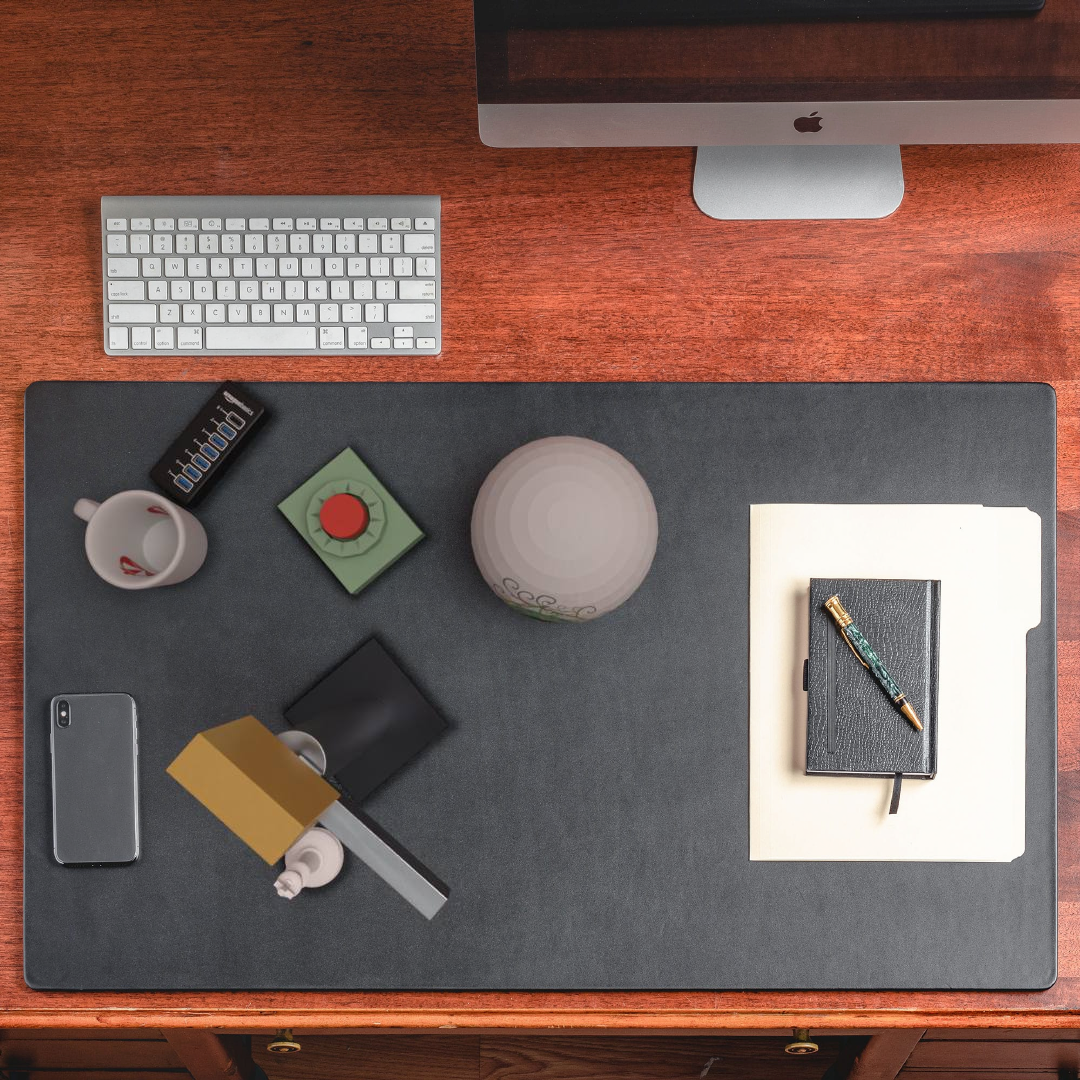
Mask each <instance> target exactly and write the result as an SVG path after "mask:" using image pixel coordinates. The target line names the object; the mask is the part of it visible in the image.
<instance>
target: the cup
mask: <svg viewBox="0 0 1080 1080" xmlns="http://www.w3.org/2000/svg"><path fill="white" fill-rule="evenodd" d="M73 513H74V514H75V515H76V516H77V517H79V518H80V519H82V520H83V521H85V522H87V527H86V529H85V536H84V546H85V552H86V556H87V560H88V561H89V564H90V565H91V567H92V569H93V570H94V571H95V573H96V574H97V575H98V576H99V577H100V578H101V579H103V580H104V581H106V582H107V583H109V584H111V585H112V586H115V587H118V588H120V589H125V590H142V589H143V590H145V589H151V588H157V587H162V586H169V585H175V584H179V583H181V582H184V581H187V580H188V579H190V578H191V577H192V576H194V575H195V574H196V573H197V572H198V571H199V569H200V568H201V567H202V566H203V565H204V562H205V559H206V557H207V554H208V547H209V546H208V543H209V542H208V536H207V533H206V530H205V529H204V526H203V525H202V523H201V522H200V520H198V519H197V518H196V516H195V515H193V514H192V513H190V512H189V511H187V510H186V509H184V508H183V507H181V506H179V505H178V504H176V503H174V502H173V501H171V500H169V499H168V498H166V497H165V496H162V495H161V494H158V493H156V492H153V491H149V490H143V489H132V490H125V491H122V492H119V493H116V494H114V495H112V496H111V497H109V498H106V500H105V501H104V502H102V503H100V502H97V501H95V500H92V499H90V498H85V497H83V498H79V499H78V500H77V502H76V503H75V505H74V507H73Z"/></svg>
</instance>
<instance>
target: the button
mask: <svg viewBox="0 0 1080 1080" xmlns="http://www.w3.org/2000/svg"><path fill="white" fill-rule="evenodd" d="M320 520H321V524H322V526H323V528H324V529H325V530H326V531H327V532H328V533H329V534H331V535H333V536H335V537H338V538H341V539H350V538H354V537H356V536H358V535H359V534H360V533H361V532H362V531H363V530H364V528H365V526H366V523H367V512H366V509H365V507H364V506H363V504H362V503H361V502H360V501H358V500H357V499H355V498H354V497H352V496H350V495H346V494H338V495H335V496H332V497H330V498H329V499H328V500H327V501H326V502H325V503H324V504H323V506H322V508H321V512H320Z"/></svg>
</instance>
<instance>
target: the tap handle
mask: <svg viewBox="0 0 1080 1080" xmlns="http://www.w3.org/2000/svg"><path fill="white" fill-rule="evenodd" d="M165 771H166V772H167V774H168V775H170V776H171V777H172V778H173V779H174V780H175V781H177V782H178V784H180V786H182V787H183V788H184V789H185V790H186V791H188V793H190V794H191V795H192V796H193V797H194V798H195V799H196V800H197V801H198V802H200V803H201V804H202V805H203V806H204V807H205V808H206V809H207V810H209V811H210V812H211V813H212V814H213V815H214V816H215V817H216V818H217V819H218V820H219V821H221V822H222V823H223V824H224V825H225V826H226V827H227V828H229V829H230V830H231V831H232V832H233V833H234V834H235V835H236V836H238V838H240V839H241V840H242V841H243V842H244V843H245V844H246V845H248V847H249V848H251V850H253V851H254V852H255V853H256V854H257V855H258V856H259V857H261V858H262V859H263V860H264V861H265V862H266V863H267V864H268V865H269V866H271V867H272V866H274V865H276V864H277V862H279V860H280V859H282V858H283V857H285V854H286V853H287V852H288V851H289V850H290V849H291V848H292V847H293V846H294V845H295V844H296V843H297V842H298V841H300V840H301V839H302V838H303V837H304V836H305V835H306V834H307V833H308V832H309V831H310V830H311V829H312V828H313V827H316V825H317V824H318V823H319V824H320V825H321V826H322V827H323V828H324V829H326V830H328V831H330V832H331V833H332V834H333V835H334V836H335V837H336V838H337V839H338V840H339V841H340V843H341V844H343V845H344V846H345V847H346V848H347V849H348V850H349V851H351V852H352V853H353V854H354V855H355V856H356V857H357V858H358V859H359V860H360V861H362V862H363V863H364V864H365V865H366V866H367V867H369V868H370V869H371V870H372V871H373V873H375V874H376V875H377V876H379V878H381V879H382V880H383V881H384V882H385V883H386V884H387V885H389V886H390V887H391V888H392V889H393V890H394V891H395V892H396V893H397V894H399V895H400V896H401V897H402V898H403V899H404V900H405V901H406V902H408V903H409V904H410V905H411V906H412V907H413V908H414V909H415V910H416V911H418V912H419V914H421V915H422V916H423V917H424V918H425V919H426V920H428V921H429V922H431V921H432V920H433V919H434V918H435V916H436V915H437V914H438V913H439V912H440V911H441V909H442V908H443V907H444V906H445V905H446V904H447V902H448V901H449V898H450V895H451V891H452V888H451V887H450V886H449V885H448V884H447V883H445V882H444V881H443V879H441V878H439V876H438V875H436V873H434V872H433V871H432V870H431V869H429V867H427V866H426V865H425V864H424V863H423V862H422V861H420V860H419V859H418V857H416V856H415V855H414V854H413V853H412V852H410V851H409V849H407V848H406V847H405V846H404V845H403V844H402V843H400V842H399V841H398V839H396V838H395V837H394V836H393V835H391V834H390V833H389V831H387V830H386V829H385V828H383V826H382V825H381V824H379V823H378V822H377V821H375V820H374V819H373V818H372V816H370V815H369V814H368V813H367V812H366V811H364V809H362V808H361V807H360V806H359V804H357V803H356V802H355V801H353V800H352V799H351V798H350V797H349V796H348V795H346V794H345V793H344V792H343V791H342V790H341V789H340V788H338V786H336V785H335V784H334V783H333V782H332V781H331V780H330V779H327V778H326V777H325V776H324V775H323V774H322V773H321V772H319V771H318V770H317V769H316V768H315V767H314V766H313V765H312V764H311V763H309V762H308V761H307V760H306V759H305V758H304V757H303V756H302V755H300V756H297V755H296V754H295V753H294V752H292V751H291V750H290V749H289V748H288V747H287V746H286V745H285V744H283V743H282V742H281V741H280V740H279V739H278V738H277V737H276V735H275V734H273V732H271V731H270V730H269V729H268V728H267V727H266V726H265V725H263V724H262V723H261V722H260V721H259V720H258V719H257V718H255V717H254V716H253V715H252V714H249V715H246V716H244V717H240V718H238V719H235V720H232V721H229V722H226V723H224V724H223V723H222V724H221V725H217V726H213V727H212V728H209V729H206V730H203V731H200V732H198V733H196V734H195V736H194V737H193V738H192V739H191V740H190V741H189V743H188V744H187V745H186V746H185V747H184V748H183V749H182V751H181V752H180V753H179V754H178V755H177V756H176V757H175V758H174V760H173V761H172V762H171V763H170V764H169V765H168V766H167V768H166V769H165Z"/></svg>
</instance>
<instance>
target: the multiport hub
mask: <svg viewBox="0 0 1080 1080" xmlns="http://www.w3.org/2000/svg"><path fill="white" fill-rule="evenodd" d="M272 416H273V413H272V411H271V410H270V409H269V408H267V407H266V406H265V405H264V404H262V403H261V402H260V401H258V400H257V399H256V398H254V396H252V395H251V394H249V392H248V391H246V390H244V388H242V387H241V386H240V385H238V384H237V383H235V382H234V380H231V379H226V380H225V381H223V383H222V384H221V385H220V386H219V387H218V389H217V390H216V391H215V392H214V393H213V394H212V396H211V397H210V398H209V400H208V401H206V403H205V404H204V405H203V407H202V408H200V410H199V412H197V414H196V415H195V416H194V417H193V419H192V420H191V421H190V422H189V423H188V424H187V426H186V427H185V428H184V430H183V431H182V432H181V433H180V434H179V435H178V437H176V439H175V440H174V441H173V443H172V444H171V445H170V446H169V447H168V448H167V450H166V451H165V452H164V454H163V455H162V456H161V457H160V458H159V460H157V462H156V463H155V464H154V466H153V467H152V468H151V469H150V470H149V472H148V477H149V479H151V480H152V481H153V482H154V483H156V484H157V485H158V486H160V488H162V489H163V490H164V491H166V492H167V493H168V494H169V495H170V496H171V497H173V498H174V499H175V500H177V501H178V502H179V503H181V504H182V505H185V506H188V507H191V508H198V507H199V506H200V505H201V503H202V502H203V501H204V500H205V499H206V498H207V496H208V495H209V494H210V493H211V492H212V490H213V489H214V488H215V486H216V485H218V483H219V482H220V480H221V479H223V477H224V476H225V474H227V472H228V471H229V470H230V469H231V467H232V466H233V465H234V464H235V462H236V461H237V460H238V459H239V457H240V456H241V455H242V454H243V453H244V452H245V450H246V449H247V447H249V445H250V444H251V443H252V442H253V440H254V439H255V438H256V437H257V436H258V434H259V433H260V432H261V431H262V430H263V428H264V427H265V426H266V425H267V424H268V422H269V421H270V420H271V419H272Z"/></svg>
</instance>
